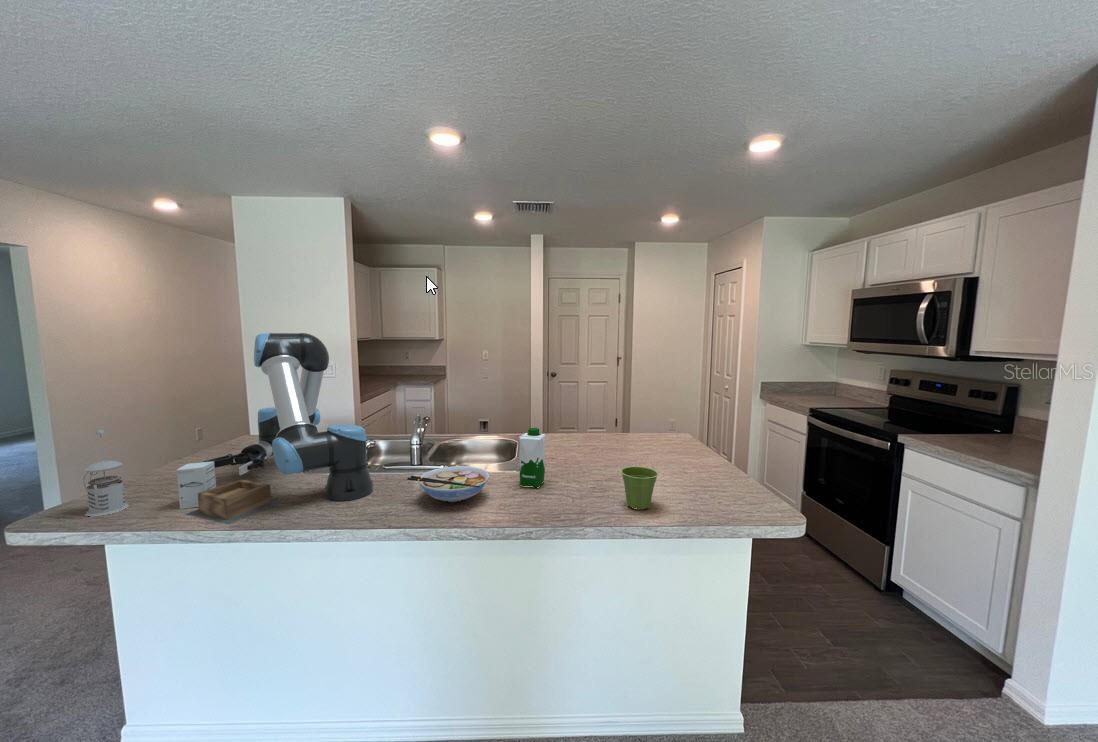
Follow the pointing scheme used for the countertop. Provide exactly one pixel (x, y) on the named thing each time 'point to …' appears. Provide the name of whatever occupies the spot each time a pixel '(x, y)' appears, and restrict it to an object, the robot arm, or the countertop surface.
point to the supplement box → (194, 482)
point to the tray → (234, 499)
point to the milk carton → (532, 458)
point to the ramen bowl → (453, 482)
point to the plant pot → (639, 485)
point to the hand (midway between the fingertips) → (218, 471)
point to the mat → (226, 521)
